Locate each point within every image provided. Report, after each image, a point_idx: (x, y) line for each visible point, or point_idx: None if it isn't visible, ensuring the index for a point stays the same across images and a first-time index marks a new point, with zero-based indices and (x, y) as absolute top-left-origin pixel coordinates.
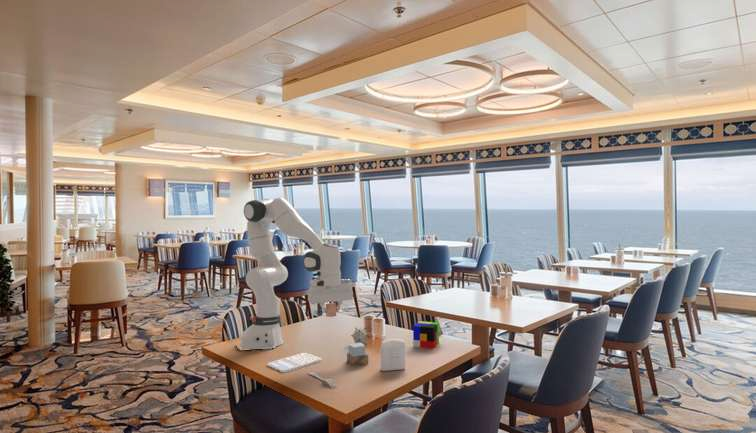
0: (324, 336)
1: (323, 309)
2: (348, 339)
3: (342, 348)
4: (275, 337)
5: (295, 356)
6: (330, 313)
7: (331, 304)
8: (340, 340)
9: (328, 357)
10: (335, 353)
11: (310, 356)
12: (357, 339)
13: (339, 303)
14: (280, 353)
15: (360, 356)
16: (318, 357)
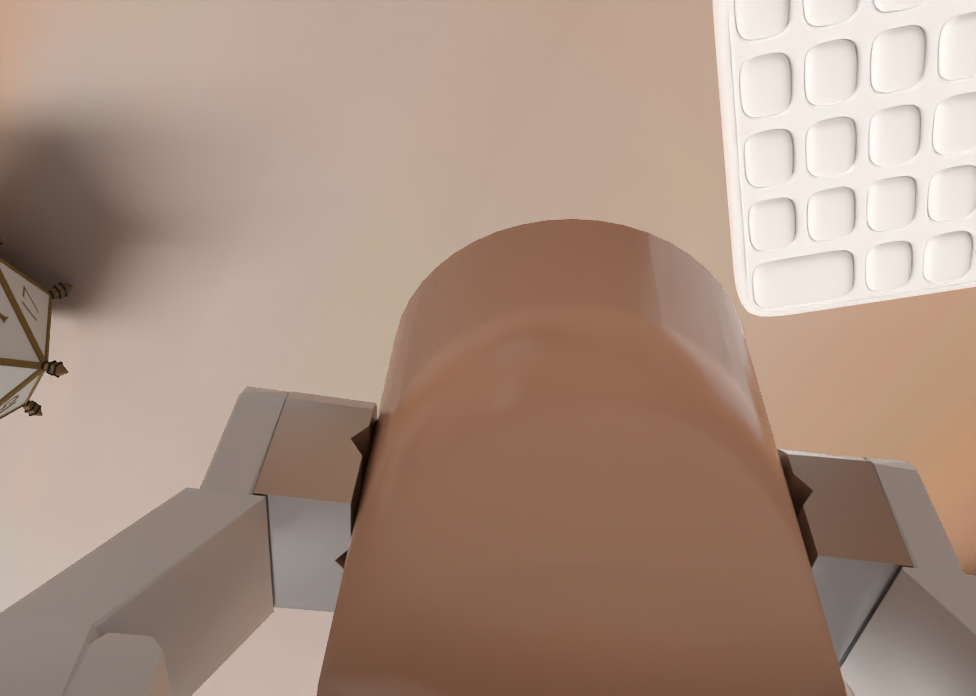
0: (292, 627)
1: (947, 564)
2: (90, 466)
3: (251, 258)
4: (848, 693)
5: (937, 242)
6: (696, 318)
7: (591, 690)
8: (183, 480)
9: (560, 48)
10: (405, 142)
11: (792, 142)
12: (4, 277)
13: (145, 636)
14: (910, 459)
15: None
16: (745, 27)
